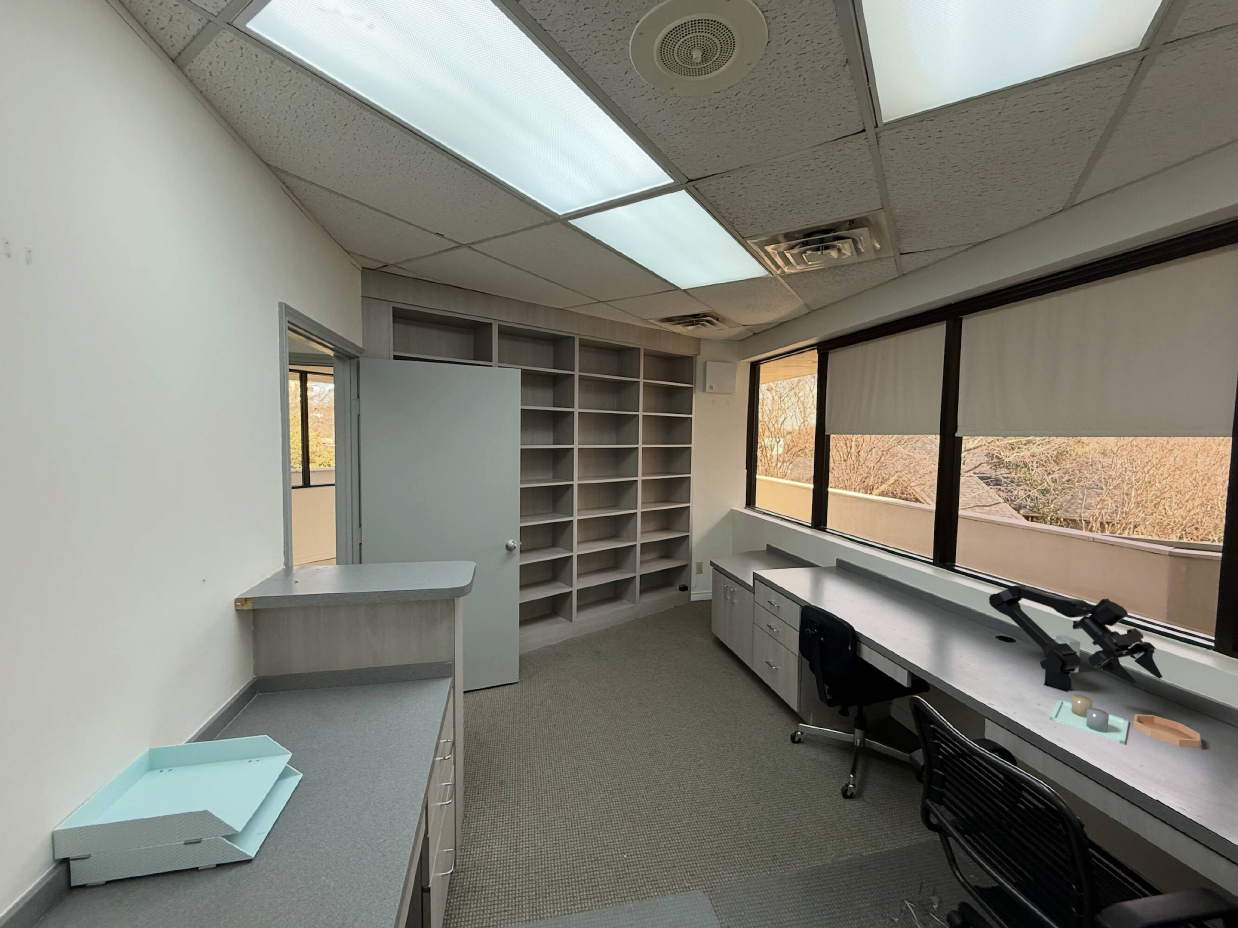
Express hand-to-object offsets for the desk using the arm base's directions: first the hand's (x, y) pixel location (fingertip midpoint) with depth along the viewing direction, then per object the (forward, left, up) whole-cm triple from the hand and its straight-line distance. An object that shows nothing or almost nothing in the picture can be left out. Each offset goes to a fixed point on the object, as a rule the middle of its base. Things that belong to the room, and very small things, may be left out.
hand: (1147, 680), depth 146 cm
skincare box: (-21, +33, -14) cm, 42 cm away
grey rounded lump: (-9, -14, -14) cm, 22 cm away
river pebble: (-13, -7, -14) cm, 20 cm away
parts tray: (-11, -11, -14) cm, 21 cm away
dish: (+4, -2, -14) cm, 15 cm away
